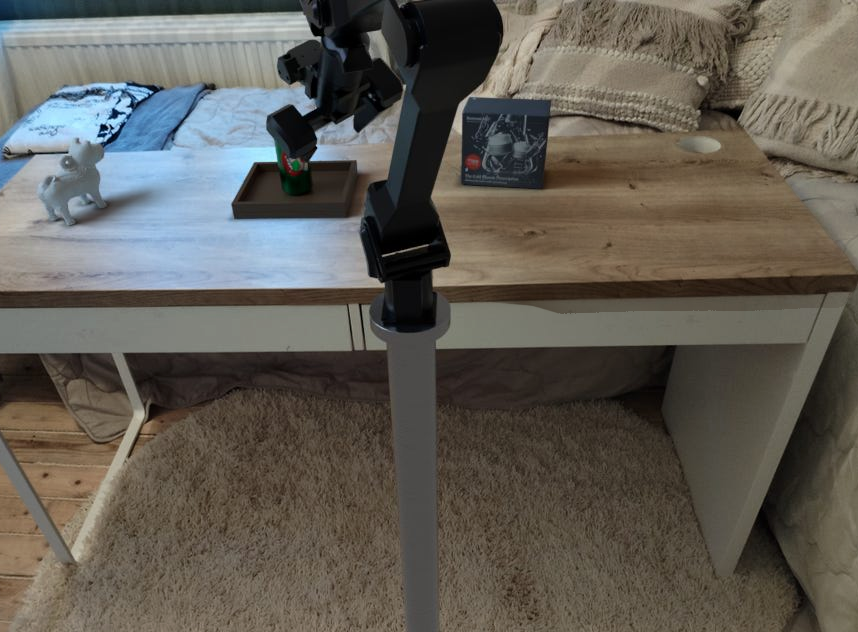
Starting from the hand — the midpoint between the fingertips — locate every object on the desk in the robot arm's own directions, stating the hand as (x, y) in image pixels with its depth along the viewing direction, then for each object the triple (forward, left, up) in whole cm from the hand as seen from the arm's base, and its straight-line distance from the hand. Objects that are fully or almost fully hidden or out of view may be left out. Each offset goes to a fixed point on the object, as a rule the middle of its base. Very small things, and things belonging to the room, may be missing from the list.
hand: (330, 144), depth 100 cm
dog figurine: (+4, +43, -12) cm, 44 cm away
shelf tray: (+8, +8, -12) cm, 16 cm away
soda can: (+8, +8, -11) cm, 15 cm away
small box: (+13, -25, -12) cm, 31 cm away
